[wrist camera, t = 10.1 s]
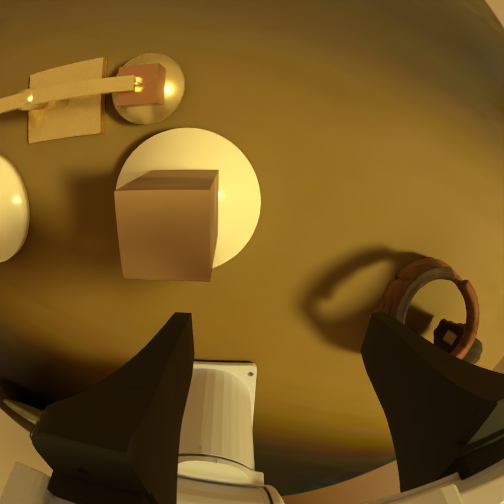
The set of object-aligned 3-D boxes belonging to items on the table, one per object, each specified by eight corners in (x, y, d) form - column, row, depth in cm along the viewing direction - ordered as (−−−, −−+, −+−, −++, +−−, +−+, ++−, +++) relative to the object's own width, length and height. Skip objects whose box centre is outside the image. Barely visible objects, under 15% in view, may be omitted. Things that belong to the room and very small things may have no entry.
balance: (186, 127, 17) (161, 128, 11) (-12, 152, 16) (-67, 167, 11) (189, 50, 15) (167, 17, 10) (-12, 92, 14) (-67, 94, 9)
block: (217, 235, 19) (210, 281, 13) (154, 233, 19) (123, 278, 13) (218, 169, 17) (209, 190, 12) (151, 170, 17) (114, 190, 12)
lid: (84, 408, 27) (70, 442, 22) (82, 444, 30) (72, 472, 26) (7, 368, 25) (-12, 396, 20) (17, 411, 28) (3, 436, 24)
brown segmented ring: (332, 349, 25) (361, 372, 17) (370, 247, 26) (410, 228, 18) (438, 382, 24) (486, 405, 16) (468, 291, 25) (523, 288, 17)
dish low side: (256, 266, 21) (256, 273, 20) (126, 263, 20) (122, 269, 20) (263, 129, 18) (264, 129, 17) (118, 131, 17) (112, 131, 16)
